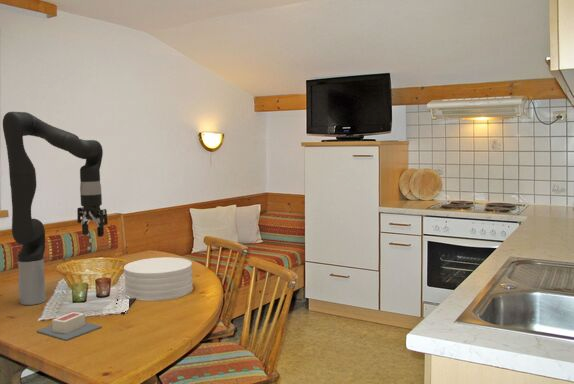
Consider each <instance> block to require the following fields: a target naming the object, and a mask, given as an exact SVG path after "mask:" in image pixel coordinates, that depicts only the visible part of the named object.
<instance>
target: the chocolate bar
mask: <svg viewBox="0 0 574 384" xmlns="http://www.w3.org/2000/svg"><path fill="white" fill-rule="evenodd" d="M116 299H117V301H118V299H119V298H116ZM128 299H129V309H130V308H131V307H132V306H133V304H134V303H135V302H136V301H137V300H136V299H131V298H128ZM116 304H117V303H116ZM131 305H132V306H131ZM125 312H126V311H125ZM125 312H115V313H105V314H123V315H125V314H126V313H127V312H126V313H125Z"/></svg>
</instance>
